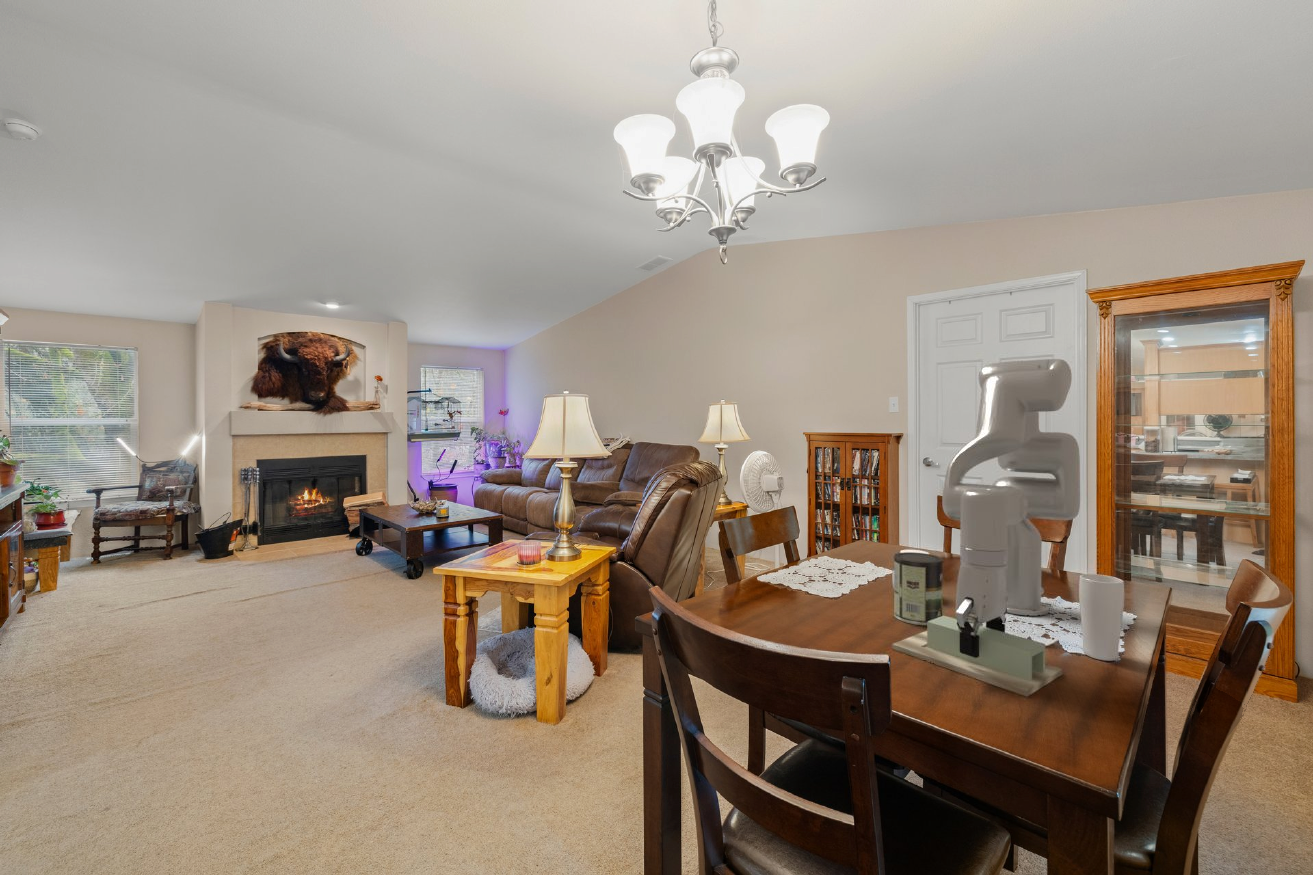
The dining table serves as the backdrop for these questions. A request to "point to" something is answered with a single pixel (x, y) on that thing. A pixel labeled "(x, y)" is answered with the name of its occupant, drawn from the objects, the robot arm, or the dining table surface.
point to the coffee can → (917, 587)
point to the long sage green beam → (990, 648)
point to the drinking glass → (1101, 615)
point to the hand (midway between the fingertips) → (982, 648)
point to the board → (976, 667)
